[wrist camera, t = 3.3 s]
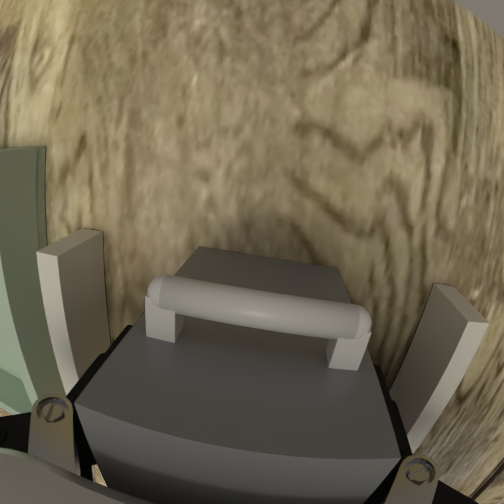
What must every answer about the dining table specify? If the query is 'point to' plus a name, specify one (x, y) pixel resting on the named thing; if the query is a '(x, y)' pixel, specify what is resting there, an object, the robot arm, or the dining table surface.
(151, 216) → the dining table surface
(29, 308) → the tray
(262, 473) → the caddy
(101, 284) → the bay
